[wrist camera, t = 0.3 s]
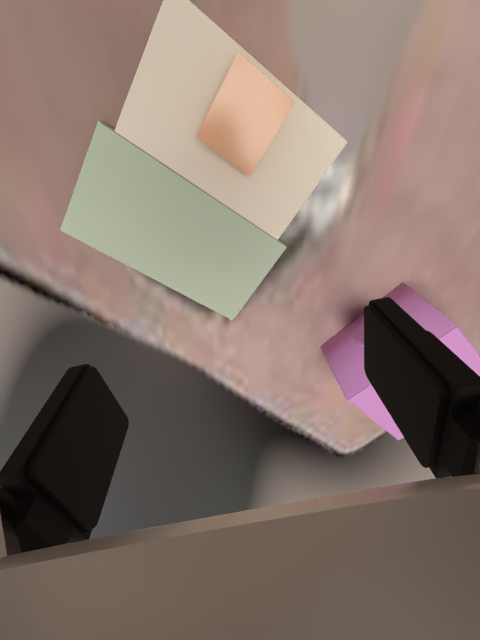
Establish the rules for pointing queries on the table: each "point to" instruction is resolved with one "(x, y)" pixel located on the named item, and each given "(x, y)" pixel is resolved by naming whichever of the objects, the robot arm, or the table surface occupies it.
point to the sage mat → (166, 226)
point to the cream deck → (192, 107)
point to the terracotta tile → (244, 115)
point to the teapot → (349, 354)
